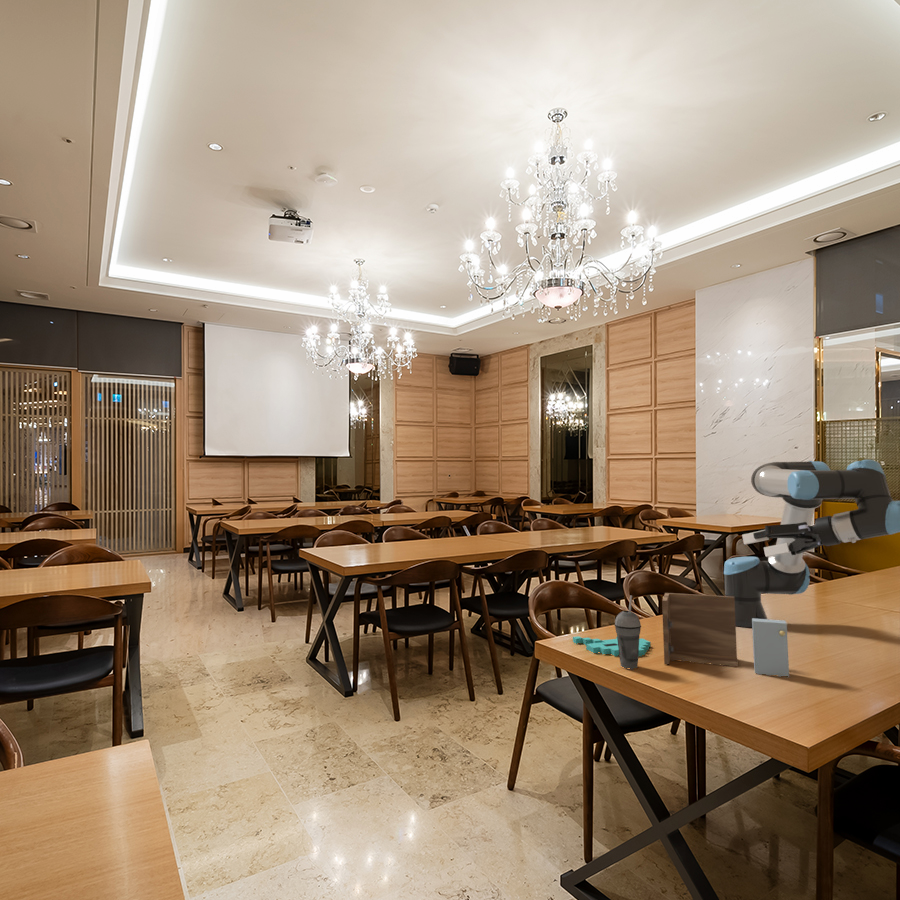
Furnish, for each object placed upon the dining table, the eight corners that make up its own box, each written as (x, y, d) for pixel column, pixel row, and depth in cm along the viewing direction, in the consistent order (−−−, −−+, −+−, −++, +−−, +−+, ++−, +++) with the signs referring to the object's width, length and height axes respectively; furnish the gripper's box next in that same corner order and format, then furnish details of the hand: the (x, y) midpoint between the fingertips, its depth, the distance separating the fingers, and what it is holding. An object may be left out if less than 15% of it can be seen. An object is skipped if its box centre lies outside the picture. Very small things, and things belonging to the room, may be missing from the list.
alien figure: (573, 643, 191) (604, 661, 172) (572, 636, 191) (604, 653, 172) (627, 638, 196) (663, 655, 177) (626, 631, 196) (663, 647, 177)
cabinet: (667, 652, 178) (665, 592, 179) (736, 659, 170) (734, 596, 171) (664, 664, 167) (662, 600, 168) (738, 672, 159) (735, 605, 160)
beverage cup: (617, 661, 170) (614, 592, 171) (643, 664, 167) (640, 593, 168) (614, 669, 163) (612, 597, 164) (641, 672, 160) (639, 598, 162)
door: (754, 669, 161) (752, 618, 162) (787, 673, 158) (785, 620, 158) (755, 675, 157) (753, 622, 157) (789, 678, 153) (787, 624, 154)
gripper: (822, 529, 144) (736, 547, 158) (857, 555, 158) (775, 569, 172) (814, 501, 147) (731, 521, 162) (850, 528, 162) (770, 545, 176)
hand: (754, 546), depth 167 cm, fingers open, 13 cm apart
